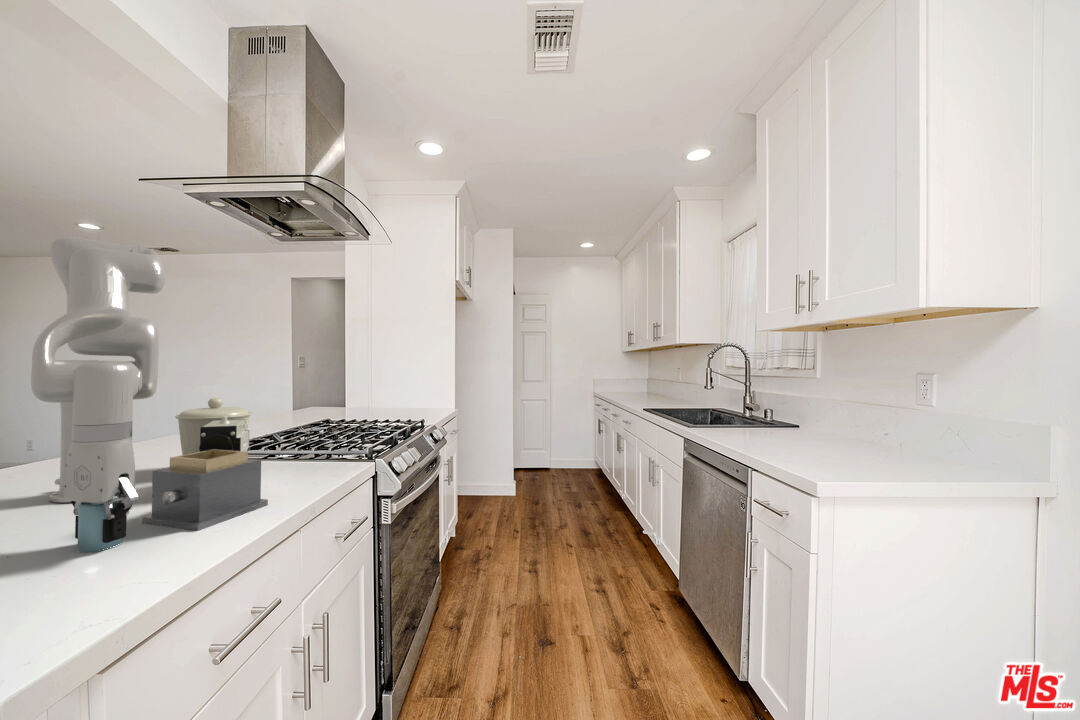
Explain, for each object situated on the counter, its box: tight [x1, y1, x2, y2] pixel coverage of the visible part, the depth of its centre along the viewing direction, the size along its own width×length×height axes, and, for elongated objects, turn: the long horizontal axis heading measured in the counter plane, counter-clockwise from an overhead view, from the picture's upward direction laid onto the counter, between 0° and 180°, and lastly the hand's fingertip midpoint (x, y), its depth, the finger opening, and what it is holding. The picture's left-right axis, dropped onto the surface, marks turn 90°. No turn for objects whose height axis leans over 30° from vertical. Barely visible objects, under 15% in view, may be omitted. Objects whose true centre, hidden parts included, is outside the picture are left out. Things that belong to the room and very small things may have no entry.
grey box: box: [141, 449, 269, 531], centre depth 95 cm, size 14×17×12 cm
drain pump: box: [77, 497, 133, 553], centre depth 79 cm, size 6×7×9 cm
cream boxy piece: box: [199, 416, 250, 452], centre depth 116 cm, size 18×8×18 cm, turn 25°
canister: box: [175, 397, 253, 455], centre depth 131 cm, size 18×18×21 cm
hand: (100, 536), depth 78 cm, fingers closed on drain pump, 5 cm apart
